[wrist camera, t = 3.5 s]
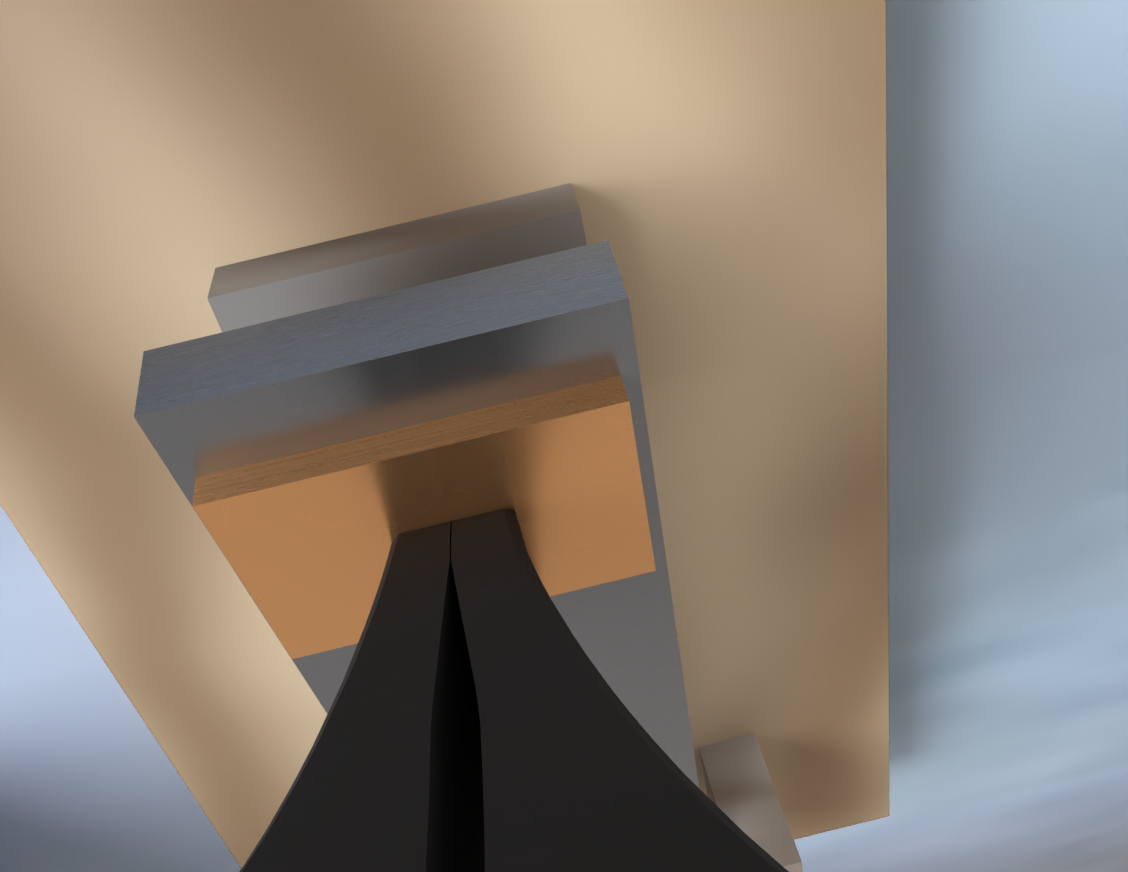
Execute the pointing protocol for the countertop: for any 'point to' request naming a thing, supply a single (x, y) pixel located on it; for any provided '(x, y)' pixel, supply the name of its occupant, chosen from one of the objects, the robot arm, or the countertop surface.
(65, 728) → the countertop surface
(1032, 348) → the countertop surface
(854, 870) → the countertop surface
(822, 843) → the countertop surface
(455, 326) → the latch bar
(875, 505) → the latch board
